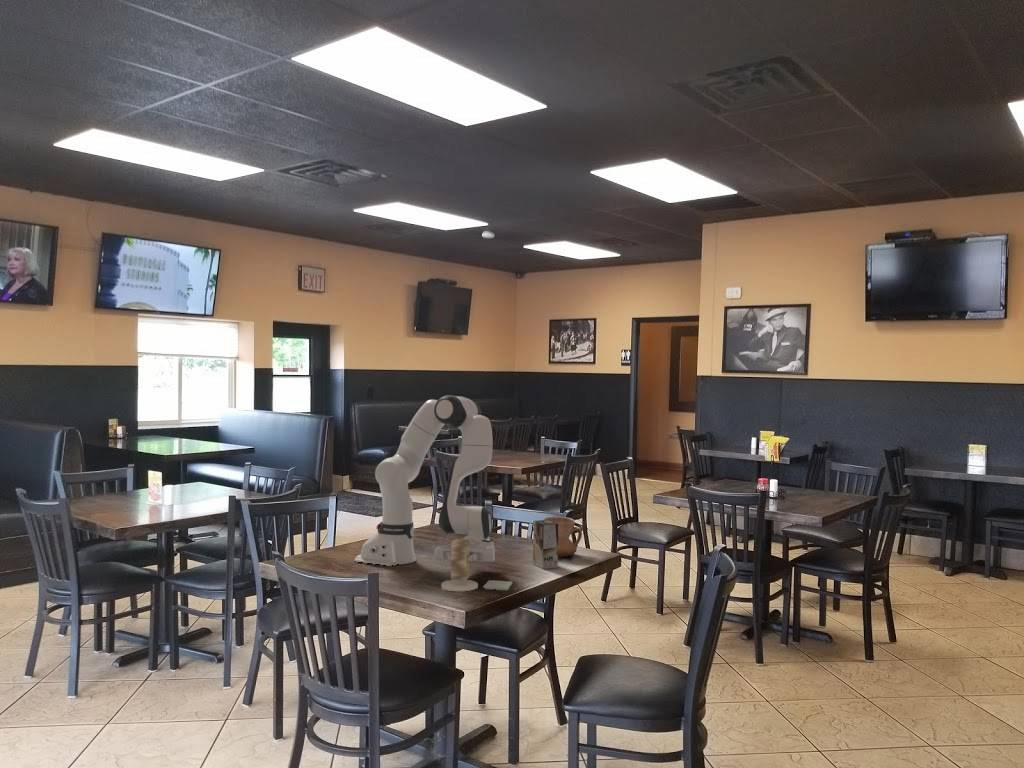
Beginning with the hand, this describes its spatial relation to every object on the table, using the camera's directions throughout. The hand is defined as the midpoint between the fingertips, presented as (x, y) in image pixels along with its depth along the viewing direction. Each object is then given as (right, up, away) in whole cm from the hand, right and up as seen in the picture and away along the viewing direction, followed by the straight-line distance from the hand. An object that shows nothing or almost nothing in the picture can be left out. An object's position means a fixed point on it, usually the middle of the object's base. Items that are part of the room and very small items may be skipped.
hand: (459, 558), depth 247 cm
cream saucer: (0, -10, +1) cm, 10 cm away
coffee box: (+29, -10, +32) cm, 45 cm away
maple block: (0, -7, +1) cm, 7 cm away
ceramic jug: (+36, -10, +50) cm, 62 cm away
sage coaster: (+12, -10, +3) cm, 16 cm away
